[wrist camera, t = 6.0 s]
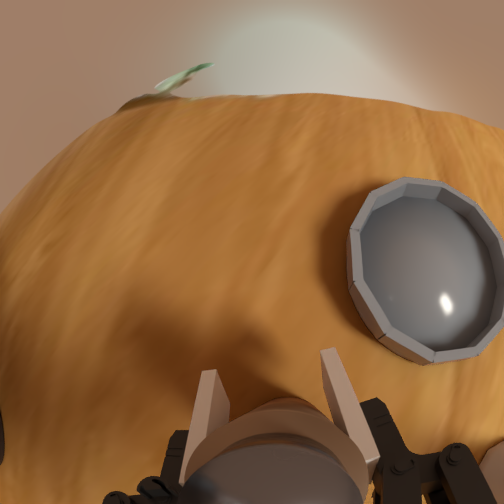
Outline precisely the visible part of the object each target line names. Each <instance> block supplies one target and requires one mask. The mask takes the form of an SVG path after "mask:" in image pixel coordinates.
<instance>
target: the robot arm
mask: <svg viewBox="0 0 504 504" xmlns="http://www.w3.org/2000/svg"><path fill="white" fill-rule="evenodd" d="M320 356H321V366H322V377H323V388H324V392H325V395H326V398H327V401H328V405H329V408H330V411H331V415H332V418H333V422H334V424H335V425H336V426H337V427H338V428H339V429H340V430H341V431H343V432H344V433H345V434H346V435H347V436H348V437H349V438H351V439H352V441H353V442H354V443H355V444H356V445H357V446H358V448H359V449H360V451H361V453H362V454H363V456H364V459H365V461H366V464H367V469H368V473H369V484H371V482H372V480H373V484H374V487H375V489H374V491H373V493H372V497H373V504H422V496H421V495H422V494H423V495H424V498H425V500H426V503H427V504H497V502H496V500H495V497H494V495H493V493H492V491H491V489H490V487H489V485H488V483H487V481H486V479H485V477H484V475H483V473H482V471H481V469H480V468H479V466H478V464H477V462H476V460H475V458H474V457H473V455H472V453H471V451H470V449H469V448H468V447H467V446H466V445H464V444H462V443H453V444H450V445H448V446H447V447H445V448H444V449H443V450H442V452H437V453H432V454H426V455H419V454H415V453H412V452H411V451H409V450H408V449H407V447H406V446H405V444H404V441H403V439H402V437H401V435H400V433H399V431H398V429H397V427H396V425H395V423H394V422H393V419H392V417H391V415H390V413H389V411H388V409H387V407H386V405H385V403H383V402H382V401H381V400H379V399H378V398H377V397H376V398H373V399H370V400H367V401H364V402H361V403H359V402H358V399H357V397H356V395H355V392H354V390H353V388H352V385H351V383H350V380H349V378H348V376H347V373H346V371H345V369H344V367H343V364H342V362H341V360H340V357H339V355H338V353H337V351H336V348H335V347H333V348H329V349H325V350H321V351H320ZM229 414H230V402H229V400H228V397H227V395H226V392H225V390H224V387H223V385H222V382H221V380H220V377H219V375H218V372H217V370H216V369H214V370H205V371H202V373H201V378H200V382H199V387H198V391H197V396H196V400H195V405H194V410H193V414H192V419H191V424H190V429H189V430H176V431H175V432H174V434H173V435H172V436H171V438H170V440H169V444H168V447H167V448H168V450H167V451H166V457H165V459H164V463H163V467H162V471H161V475H160V477H158V476H150V477H146V478H145V479H143V480H142V481H140V483H139V484H138V486H137V491H138V492H139V493H140V495H132V496H128V495H126V494H125V493H123V492H120V491H114V492H110V493H109V494H107V495H106V496H105V498H104V500H103V503H102V504H177V502H178V497H179V494H180V491H181V489H182V487H183V485H184V476H185V471H186V467H187V464H188V461H189V459H190V457H191V455H192V453H193V452H194V450H195V449H196V448H197V446H198V445H199V444H200V443H201V442H202V441H203V440H204V439H205V438H206V437H207V436H208V435H209V434H211V433H212V432H213V431H215V430H216V429H218V428H219V427H221V426H223V425H225V424H227V423H229ZM3 456H4V435H3V427H2V420H1V415H0V465H1V463H2V461H3ZM372 497H371V498H372Z"/></svg>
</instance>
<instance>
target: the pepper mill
mask: <svg viewBox="0 0 504 504" xmlns="http://www.w3.org/2000/svg"><path fill="white" fill-rule="evenodd" d="M368 485H369V473H368V469H367V464H366V461H365V459H364V456H363V454H362V453H361V451H360V449H359V448H358V446H357V445H356V444H355V443H354V442H353V441H352V439H351V438H349V437H348V436H347V435H346V434H345V433H344V432H343V431H341V430H340V429H339V428H338V427H337V426H336V425H335V424H333V423H332V422H331V421H330V420H329V419H328V418H327V417H326V416H325V415H323V414H322V413H321V412H320V411H319V410H318V409H317V408H316V407H315V406H313V405H312V404H311V403H309V402H307V401H305V400H302V399H299V398H294V397H282V398H277V399H273V400H270V401H268V402H266V403H264V404H263V405H261V406H259V407H257V408H255V409H254V410H252V411H250V412H248V413H246V414H244V415H242V416H240V417H238V418H237V419H235V420H233V421H231V422H229V423H227V424H225V425H223V426H221V427H219V428H218V429H216V430H215V431H213V432H212V433H211V434H209V435H208V436H207V437H206V438H205V439H204V440H203V441H202V442H201V443H200V444H199V445H198V446H197V448H196V449H195V450H194V452H193V453H192V455H191V457H190V459H189V461H188V464H187V467H186V471H185V476H184V485H183V487H182V489H181V491H180V494H179V497H178V502H177V504H363V503H364V501H365V498H366V495H367V492H368Z"/></svg>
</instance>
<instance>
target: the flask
mask: <svg viewBox="0 0 504 504" xmlns="http://www.w3.org/2000/svg"><path fill="white" fill-rule="evenodd" d="M479 468H480V469H481V471H482V473H483V475H484V477H485V479H486V481H487V483H488V485H489V487H490V489H491V491H492V493H493V495H494V497H495V500H496V502H497V504H504V441H502V442H501V443H499V444H497V445H496V446H494V447H492V448H490V449H488V451H487V453H486V455H485V456H484V458H483V460H482V462H481V463H480V465H479Z"/></svg>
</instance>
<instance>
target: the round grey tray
mask: <svg viewBox="0 0 504 504" xmlns="http://www.w3.org/2000/svg"><path fill="white" fill-rule="evenodd" d="M501 237H502V236H501V235H500V233H499V232H498V230H497V229H496V228H495V226H494V225H493V223H492V222H491V221H490V219H489V218H488V217H487V215H486V214H485V213H484V211H483V210H482V209H481V208H480V206H479V205H478V204H476V202H475V201H473V200H472V199H470V198H469V197H467V196H465V195H464V194H462V193H461V192H459V191H457V190H456V189H454V188H452V187H451V186H449V185H447V184H446V183H444V182H441V181H436V180H428V179H420V178H411V177H402V178H400V179H398V180H395V181H393V182H391V183H389V184H387V185H384V186H382V187H380V188H378V189H375V190H373V191H371V192H370V193H369V195H368V197H367V198H366V200H365V202H364V204H363V206H362V208H361V209H360V211H359V213H358V215H357V216H356V218H355V220H354V222H353V223H352V225H351V227H350V230H349V233H348V237H347V240H346V248H347V256H346V272H347V281H348V290H349V293H350V295H351V297H352V299H353V302H354V305H355V307H356V309H357V311H358V313H359V315H360V317H361V319H362V320H363V322H364V323H365V325H366V326H367V328H368V329H369V330H370V332H371V333H372V334H373V335H374V336H375V338H376V339H377V341H379V342H381V343H382V344H383V345H384V346H385V347H386V348H388V349H389V350H391V351H392V352H394V353H395V354H397V355H399V356H401V357H403V358H405V359H407V360H410V361H413V362H416V363H417V364H419V365H422V366H425V365H433V364H443V363H448V362H455V361H461V360H466V359H469V358H473V357H476V356H478V355H479V354H480V353H481V352H482V351H483V350H484V349H485V348H486V347H487V346H488V344H489V343H490V342H491V341H492V340H493V339H494V338H495V336H496V335H497V334H498V333H499V332H500V330H501V329H502V328H503V327H504V241H503V238H501Z"/></svg>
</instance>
